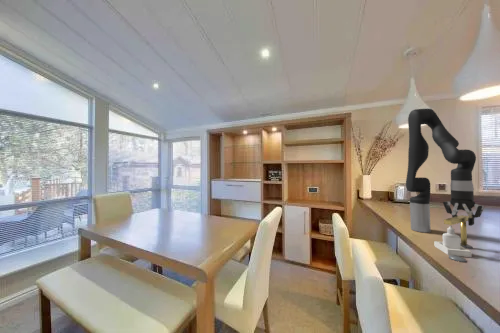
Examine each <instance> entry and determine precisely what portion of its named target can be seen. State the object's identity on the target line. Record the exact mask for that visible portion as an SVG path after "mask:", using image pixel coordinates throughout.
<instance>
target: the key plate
mask: <svg viewBox="0 0 500 333" xmlns="http://www.w3.org/2000/svg"><path fill="white" fill-rule="evenodd" d="M460 245H461V246H462V247H464V248H466V249H467V250H470V249H471V250H472V249H473V246H472V245H470V244H468V243H467V245H462V244H461V242H460ZM473 250H474V249H473Z"/></svg>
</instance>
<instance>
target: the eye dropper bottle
mask: <svg viewBox="0 0 500 333" xmlns="http://www.w3.org/2000/svg"><path fill="white" fill-rule="evenodd" d="M442 242H443V245H444V246H445V247H447V248H449V249H458V250H461V245H460V243H461V235H458V234H456V230H455V228H453V225H449V227H447V228H446V232H444V233H443V234H442Z"/></svg>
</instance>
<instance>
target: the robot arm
mask: <svg viewBox="0 0 500 333" xmlns="http://www.w3.org/2000/svg"><path fill="white" fill-rule="evenodd" d="M407 118H408V119H407V125H408V154H407V155H408V157H407V158H408V162H407V163H408V164H407V171H406V172H407V173H406V179H405V187H406V188H405V189H406V190H407V191H408V192H409V193H410V192H411V193H418V194H417V195H416V196H412V197H410V198H409V213H410V214H409V216H410V230H412V231H415V232H420V233H432V230H431V208H430V207H431V206H430V205H431V204H430V202H431V201H430V200H431V182H430V179H429V178H428V177H416V176H417V174H418V171H419V169H420V168H421V167H422V166H423V164H424V163H425V162H426V161H427V160H428V158H429V151H430V147H429V144H428V142H427V140H426V138H425V137H424V136H423V134H422V125H426V126H428V128H430V129H431V131H432V132H431V135H432V136H431V138H432V140H433V141H434V143H435V144H436V145H437V147H439V149H440V150H441V153H442V155H443V157H444V159H445V160H446V162H448V163H451V164H453V165H456V164H457V166H456V168H452V169H451V171H450V200H449V201H447V200H446V201H442V204H443V206H444V208H445V212H446V213H447V214H450V215H451V218H452V217H457V216H459V215H458V214H459V211H460V210H461V211H465V213H466V214H467V216H469V218H468V221H467V222H468V223H467V224H468V226H470V227H471V226H474V225H475V218H481V216H482V213H483V211H484V208H485V206H484V205H481V204H478V203H476V201H475V198H474V197H475V196H474V191H475V188H474V183H473V170H474V168H475V164H476V161H477V157H476V153H475V152H474V151H473V150H472V149H458V147H459V145H460V143H459V141H458V140H457V139H456V138H455V137H454V135H452V134H451V133H450V132H449V131H448V130H447V128H446V127H445V126H444V124H443V122H442V121H441V119H440V117H439V116H438V114H437V113H436V112H435V111H434V109H432V108H416V109H413V110H411V111H410V112H409V114H408V117H407ZM451 205H452V207H453V209H452V208H451ZM474 207H475V209H476V210H475V213H474V212H473V211H474V210H473V208H474Z"/></svg>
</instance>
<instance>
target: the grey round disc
mask: <svg viewBox="0 0 500 333" xmlns="http://www.w3.org/2000/svg"><path fill="white" fill-rule="evenodd" d="M448 259H450V260H452V261H454V260H455V262H458V261H459V263H467V259H466V257H465V258H464V257H463V256H455V255H448Z"/></svg>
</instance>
